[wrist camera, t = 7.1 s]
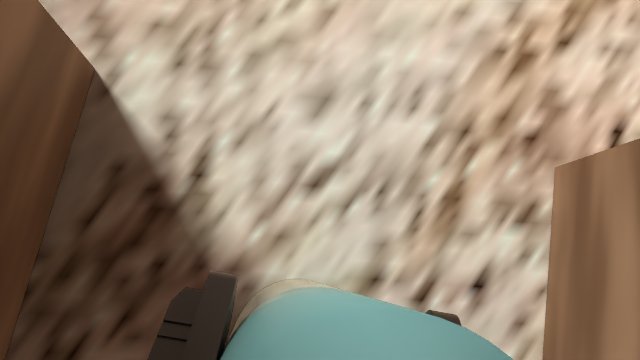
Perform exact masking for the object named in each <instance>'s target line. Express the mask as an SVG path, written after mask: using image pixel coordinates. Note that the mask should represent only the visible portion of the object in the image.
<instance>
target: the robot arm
mask: <svg viewBox="0 0 640 360" xmlns="http://www.w3.org/2000/svg"><path fill="white" fill-rule="evenodd" d="M237 280H238V275H234V274H229V273H223V272H217V271H212V270H211V271H210V273H209V276H208V279H207V282H206V285H205V288H204V290H199V289H193V288H187V287H185V288H184V289H183V290H182V291H181V292H180V293H179V294H178V295H177V296H176V297H175V298H174V299H173V300H172V301H171V303H170V305H169V308H168V310H167V313H166V315H165V318H164V321H163V323H162V325H161V328H160V330H159V333H158V336H157V339H156V340H155V343H154V345H153V347H152V350H151V352H150V355H149V357H148V360H220V357H221V355H222V353H223V351H224V347H225V343H226V339H227V335H228V330H229V326H230V321H231V316H232V311H233V304H234V298H235V292H236V286H237ZM426 314H429V315H432V316H436V317H439V318H442V319H445V320H447V321H450V322H452V323H455V324H457V325H460V326H461V323H460V320H459V318H458V316H457V315H454V314H449V313H443V312H438V311H432V310H428V311H427V312H426Z"/></svg>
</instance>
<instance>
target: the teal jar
mask: <svg viewBox="0 0 640 360" xmlns="http://www.w3.org/2000/svg"><path fill="white" fill-rule="evenodd" d="M220 360H513V359H512V358H511V357H509V356H508V355H507V354H505V353H504V352H503V351H501V350H500V349H499V348H497V347H496V346H495V345H493V344H492V343H491V342H489V341H488V340H486V339H484V338H483V337H481V336H479V335H477V334H476V333H474V332H472V331H470V330H468V329H467V328H465V327H462V326H460V325H457V324H455V323H452V322H450V321H447V320H445V319H442V318H439V317H436V316H432V315H429V314H425V313H422V312H418V311H415V310H411V309H408V308H404V307H401V306H398V305H394V304H391V303H387V302H384V301H380V300H377V299H373V298H370V297H366V296H363V295H359V294H356V293H352V292H349V291H345V290H342V289H338V288H335V287H331V286H328V285H324V284H321V283H318V282H314V281H310V280H305V279H288V280H282V281H279V282H275V283H273V284H271V285H269V286H267V287H265V288H264V289H262V290H260V291H259V292H258V293H257V294H255V295H254V296H253V297H252V298H251V299H250V300H249V302H248V303H247V304H246V306H245V307H244V308H243V310H242V312H241V314H240V315H239V317H238V320H237V322H236V324H235V326H234V328H233V331H232V333H231V335H230V337H229V340H228V342H227V344H226V346H225V348H224V351H223V353H222V355H221V357H220Z"/></svg>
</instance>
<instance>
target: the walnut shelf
mask: <svg viewBox="0 0 640 360" xmlns="http://www.w3.org/2000/svg"><path fill="white" fill-rule="evenodd" d="M94 70H95V68H94V67H93V66H92V65H91V64H90V62H89V61H88V60H87V59H86V58H85V56H84V55H83V54H82V53H81V52H80V50H79V49H78V48H77V47H76V46H75V44H74V43H73V42H72V41H71V40H70V38H69V37H68V36H67V35H66V34H65V32H64V31H63V30H62V29H61V28H60V26H59V25H58V24H57V23H56V22H55V20H54V19H53V18H52V17H51V16H50V14H49V13H48V12H47V11H46V10H45V8H44V7H43V6H42V5H41V4H40V2H39V1H38V0H0V360H5V356H6V353H7V350H8V347H9V344H10V340H11V337H12V334H13V331H14V327H15V324H16V321H17V318H18V315H19V311H20V308H21V305H22V302H23V298H24V295H25V292H26V289H27V286H28V282H29V279H30V276H31V273H32V269H33V266H34V263H35V260H36V257H37V253H38V250H39V247H40V244H41V240H42V237H43V234H44V231H45V228H46V224H47V221H48V218H49V215H50V212H51V208H52V205H53V202H54V199H55V195H56V192H57V189H58V186H59V183H60V179H61V176H62V173H63V170H64V166H65V163H66V160H67V157H68V154H69V150H70V147H71V144H72V141H73V137H74V134H75V131H76V128H77V125H78V121H79V118H80V115H81V112H82V108H83V105H84V102H85V99H86V96H87V92H88V89H89V86H90V83H91V79H92V76H93V73H94ZM543 360H640V139H637V140H634V141H631V142H628V143H625V144H622V145H620V146H617V147H614V148H611V149H608V150H605V151H602V152H599V153H596V154H593V155H590V156H588V157H585V158H582V159H579V160H576V161H573V162H570V163H567V164H564V165H561V166H558V167H556V168H555V179H554V195H553V210H552V225H551V240H550V256H549V271H548V286H547V301H546V317H545V332H544V347H543Z"/></svg>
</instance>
